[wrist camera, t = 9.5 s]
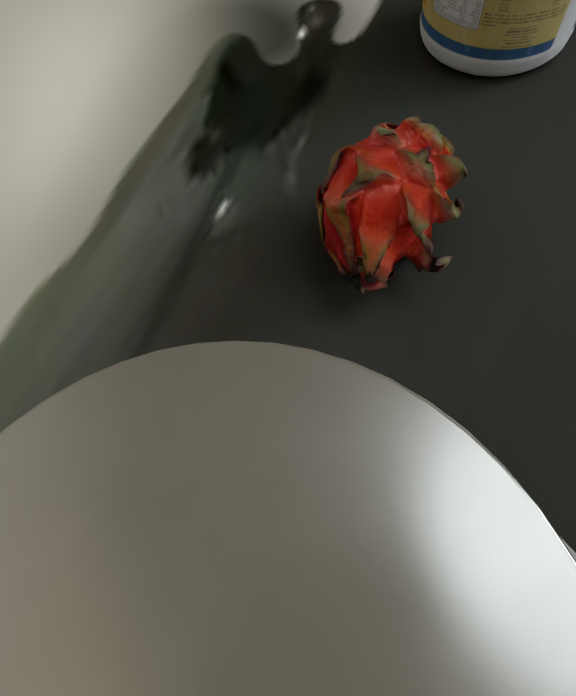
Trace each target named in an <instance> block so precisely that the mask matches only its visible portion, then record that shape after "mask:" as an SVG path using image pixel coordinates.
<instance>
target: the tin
mask: <svg viewBox="0 0 576 696" xmlns="http://www.w3.org/2000/svg"><path fill="white" fill-rule="evenodd" d="M0 696H576V561H575V559H574V557H573V556H572V554H571V553H570V551H569V550H568V548H567V547H566V545H565V544H564V542H563V541H562V539H561V538H560V536H559V535H558V533H557V532H556V530H555V529H554V528H553V526H552V525H551V523H550V522H549V520H548V519H547V517H546V516H545V514H544V513H543V511H542V510H541V508H540V507H539V506H538V505H537V503H536V502H535V501H534V500H533V499H532V497H531V496H530V495H529V494H528V493H527V492H526V490H525V489H524V488H523V487H522V486H521V484H520V483H519V482H518V481H517V480H516V478H515V477H514V476H513V475H512V474H511V473H510V471H509V470H508V469H507V468H506V467H505V465H504V464H503V463H501V462H500V461H499V460H498V459H497V458H496V457H495V456H494V455H493V454H492V453H491V452H490V451H489V450H488V449H487V448H486V447H485V446H484V445H483V444H481V443H480V442H479V441H478V440H477V439H476V438H475V437H474V436H473V435H472V434H471V433H470V432H469V431H468V430H467V429H465V428H464V427H463V426H461V425H460V424H459V423H457V422H456V421H455V420H453V419H452V418H451V417H449V416H448V415H447V414H446V413H444V412H443V411H442V410H440V409H439V408H438V407H436V406H435V405H434V404H432V403H431V402H430V401H428V400H426V399H425V398H423V397H421V396H420V395H418V394H416V393H414V392H413V391H411V390H409V389H408V388H406V387H404V386H403V385H401V384H399V383H397V382H396V381H394V380H392V379H391V378H389V377H386V376H384V375H382V374H379V373H377V372H375V371H372V370H370V369H368V368H366V367H363V366H361V365H359V364H356V363H354V362H352V361H349V360H346V359H342V358H339V357H336V356H332V355H329V354H326V353H322V352H319V351H316V350H312V349H307V348H301V347H295V346H290V345H284V344H278V343H271V342H251V341H222V342H208V343H195V344H189V345H184V346H179V347H173V348H168V349H163V350H157V351H154V352H151V353H148V354H144V355H141V356H138V357H135V358H131V359H128V360H125V361H122V362H119V363H117V364H114V365H112V366H110V367H107V368H105V369H103V370H100V371H98V372H96V373H93V374H91V375H89V376H86V377H84V378H82V379H80V380H78V381H77V382H75V383H73V384H71V385H69V386H68V387H66V388H64V389H62V390H61V391H59V392H57V393H55V394H53V395H52V396H50V397H48V398H46V399H45V400H43V401H42V402H41V403H39V404H38V405H36V406H35V407H33V408H32V409H31V410H29V411H28V412H26V413H25V414H23V415H22V416H21V417H19V418H18V419H16V420H15V421H14V422H12V423H11V424H9V425H8V426H7V427H6V428H5V429H4V430H2V431H1V432H0Z"/></svg>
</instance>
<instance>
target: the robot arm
mask: <svg viewBox="0 0 576 696" xmlns="http://www.w3.org/2000/svg"><path fill="white" fill-rule="evenodd" d="M560 538H561V537H560ZM561 539H562V538H561ZM562 541H563V542H564V540H563V539H562ZM564 544H565V545H566V547H567V548H568V550H569V551H570V553H571V554H572V556H573V557H574V559H575V561H576V553H575V552H574V551H573V550H572V549H571V548H570V547H569V546H568V545H567V544H566V543H565V542H564Z"/></svg>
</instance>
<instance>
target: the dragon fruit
mask: <svg viewBox="0 0 576 696" xmlns="http://www.w3.org/2000/svg"><path fill="white" fill-rule="evenodd" d="M453 154H454V144H453V143H452V142H451V141H450V140H448V139H447V138H445V137H443V135H441V134H440V132H439V130H438V129H437V128H436V126H434V125H432V124H430V123H421V120H420V116H414V117H410V118H407V119H405V120H404V121H403V122H402V123H401V124H400V126H398V125H395V124H392V123H387V122H384V123H382V124H380V125H378V126H375V127H374V128H373V130H372V134H371V135H370V136H369V137H368V138H366V139H364V140H363V141H361V142H359V143H356V144H355V145H354V146H352V145H348V146H345V147H343V148H342V149H340V150H338V151H337V152H336V153H335V154H334V155H333V156H332V158H331V164H330V167H329V169H328V172H327V174H326V176H325V178H324V179H323V181H322V183H321V186H320V187H319V188H318V190H317V193H316V206H317V210H318V218H319V227H320V240H321V238H322V240H321V246H322V250H323V252H324V253H325V252H326V249H327V251H328V252H329V254H330V256H331V257H332V259H333V261H334V262H335V263H336V265H337V267H338V270H339V272H340V274H341V275H342V277H343V278H345V279H346V280H347V281H349V282H351V283H354V285H355V287H356V289H357V290H359V291H360V292H361V293H363V294H364V292H365V291H372V290H377V289H381V288H386V287H389V286H390V285H389V280H390V279H391V278H392V277H393V276H394V272H395V271H396V270H393V266H394V264H395V263H397V262H398V261H399V260H400V259H401V258H402V257H406V258H408V259H409V260H411V261H412V262H413V263H414V265H415V267H416V268H417V270H418V271H420V272H421V270H424V271H428V272H439V271H441V270H442V269H443V268H444V267H446V266H447V265H448V264H449V262H450V261H451V259H452V256H442V257H439V258H437V257H434V256H433V255H432V252H433V250H434V248H433V244H432V243H431V237H432V236H431V230H432V224H433V223H434V222H438V223H445V222H448V221H451V220H456V219H458V218H459V216H460V213H461V212H460V211H462V210H463V209H464V208H463V203H462V201H461V200H460V199H459V198H456V201H455V205H454V203H453V202H452V201H451V200H450V198H449V197H448V196H447V193H446V191H447V189H449V188H451V187H453V186H454V185H456V184H457V183H458V182H459V181H461V180H462V179H463V178H464V177H466V176H467V170H466V168H465V165H464V164H463V163H462V161H461V160H460V159H459V158H457V157H454V156H453ZM323 236H324V238H323ZM420 269H421V270H420ZM392 270H393V271H392ZM391 271H392V272H391ZM390 272H391V273H390ZM358 273H360V276H361V282H360V281H359V280H358V278H357V277H356V276H358ZM390 292H391V291H390ZM393 293H394V292H393Z"/></svg>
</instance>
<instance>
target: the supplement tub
mask: <svg viewBox="0 0 576 696" xmlns="http://www.w3.org/2000/svg"><path fill="white" fill-rule="evenodd" d="M575 24H576V0H423V4H422V11H421V15H420V31H421V37H422V40H423V42H424V45H425V46H426V48H427V50H428V51H429V52H430V53H431V55H432V56H434V57H435V58H436V59H437V60H438V61H440V62H441V63H443V64H445V65H447V66H449V67H451V68H453V69H456V70H458V71H461V72H464V73H468V74H472V75H478V76H488V77H496V76H508V75H514V74H518V73H522V72H526V71H529V70H531V69H534V68H536V67H539V66H541V65H542V64H544V63H546V62H547V61H549V60H550V59H552V58H553V57H555V56H556V55H557V54H558V53H559V52H560V51H561V49H562V48H563V47H564V45H565V44H566V42H567V41H568V39H569V37H570V36H571V34H572V32H573V30H574V27H575Z"/></svg>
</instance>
